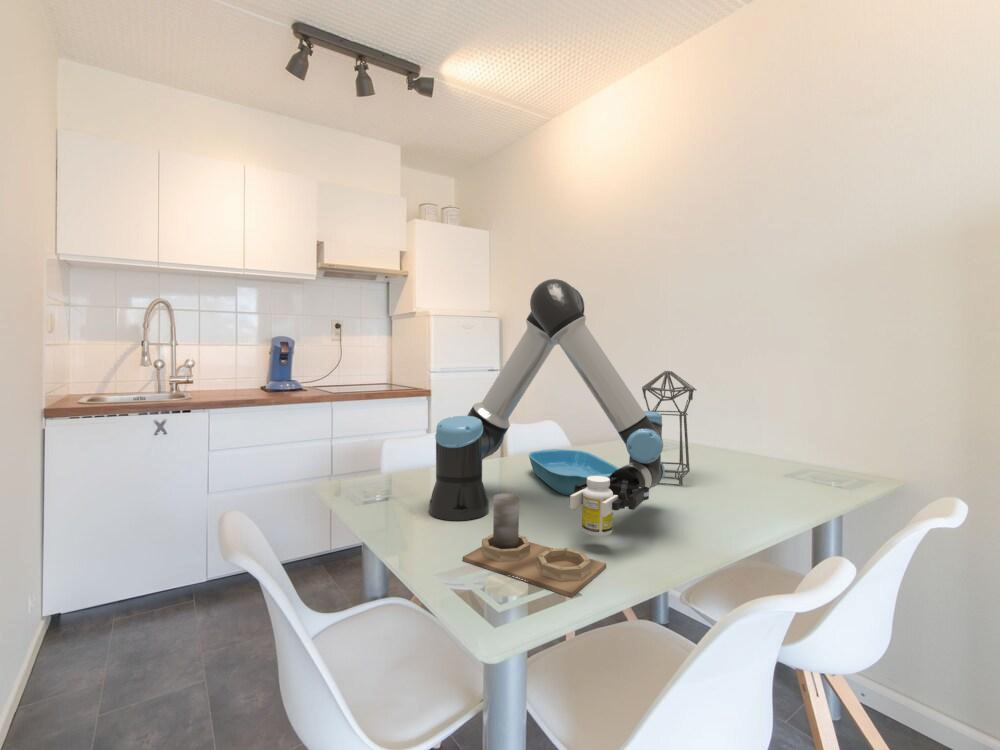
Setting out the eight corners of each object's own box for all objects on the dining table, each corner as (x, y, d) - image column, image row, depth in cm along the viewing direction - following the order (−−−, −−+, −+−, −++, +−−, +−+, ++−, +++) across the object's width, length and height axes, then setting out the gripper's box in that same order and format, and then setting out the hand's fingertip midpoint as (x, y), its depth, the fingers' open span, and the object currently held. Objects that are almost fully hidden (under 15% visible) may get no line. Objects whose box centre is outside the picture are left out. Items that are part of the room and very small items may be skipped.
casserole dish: (634, 497, 137) (634, 472, 137) (559, 503, 132) (559, 476, 131) (581, 467, 173) (581, 447, 173) (520, 470, 167) (520, 449, 167)
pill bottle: (608, 525, 104) (609, 474, 103) (615, 537, 98) (617, 482, 97) (579, 525, 104) (580, 474, 103) (585, 536, 98) (586, 482, 97)
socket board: (462, 560, 95) (462, 500, 94) (504, 538, 106) (504, 484, 105) (571, 597, 81) (572, 527, 80) (606, 567, 92) (607, 505, 92)
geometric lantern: (640, 485, 149) (641, 371, 148) (641, 474, 164) (642, 370, 163) (696, 489, 144) (697, 371, 144) (691, 477, 159) (692, 370, 159)
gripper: (670, 505, 110) (633, 536, 91) (592, 489, 121) (544, 514, 102) (672, 472, 109) (634, 496, 90) (593, 459, 120) (545, 478, 102)
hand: (587, 506), depth 96 cm, fingers closed on pill bottle, 6 cm apart
